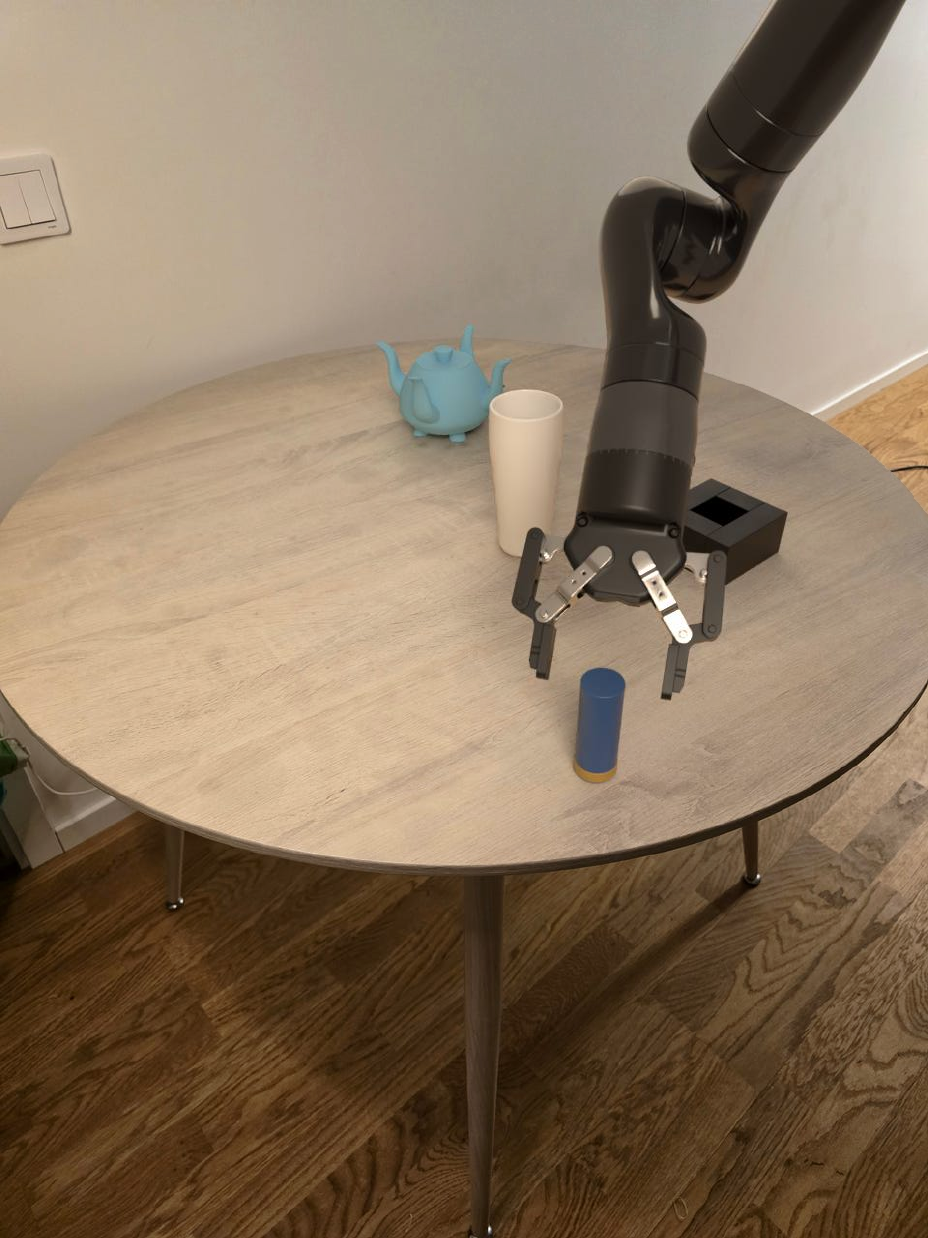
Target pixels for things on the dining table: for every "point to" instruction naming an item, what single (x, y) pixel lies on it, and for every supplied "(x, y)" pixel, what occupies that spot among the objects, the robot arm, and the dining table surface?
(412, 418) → the teapot
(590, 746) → the handle
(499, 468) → the drinking glass
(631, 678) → the dining table surface
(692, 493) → the holder
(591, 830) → the dining table surface
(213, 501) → the dining table surface
